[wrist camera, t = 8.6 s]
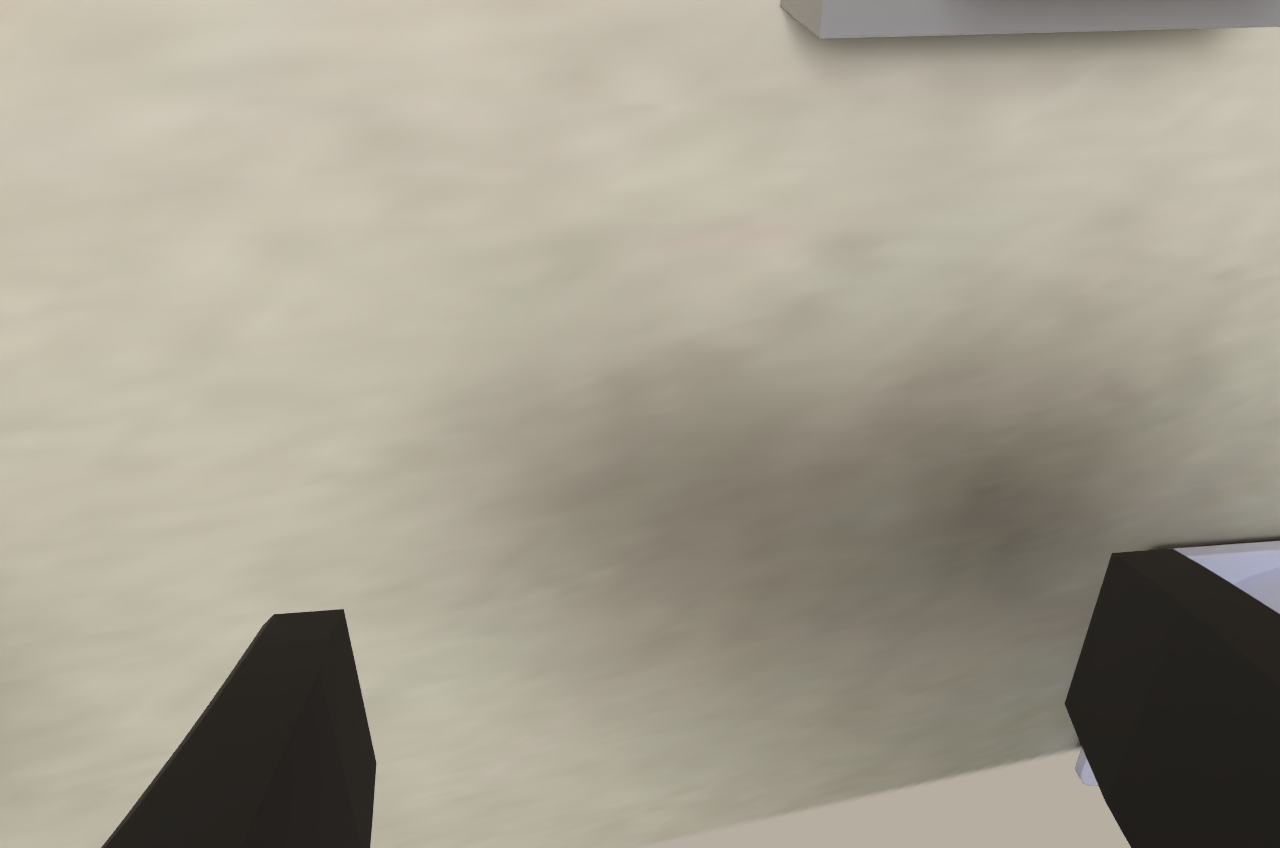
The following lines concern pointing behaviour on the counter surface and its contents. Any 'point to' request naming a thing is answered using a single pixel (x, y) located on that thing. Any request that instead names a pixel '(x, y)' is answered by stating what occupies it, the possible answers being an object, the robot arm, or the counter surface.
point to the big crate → (1022, 16)
